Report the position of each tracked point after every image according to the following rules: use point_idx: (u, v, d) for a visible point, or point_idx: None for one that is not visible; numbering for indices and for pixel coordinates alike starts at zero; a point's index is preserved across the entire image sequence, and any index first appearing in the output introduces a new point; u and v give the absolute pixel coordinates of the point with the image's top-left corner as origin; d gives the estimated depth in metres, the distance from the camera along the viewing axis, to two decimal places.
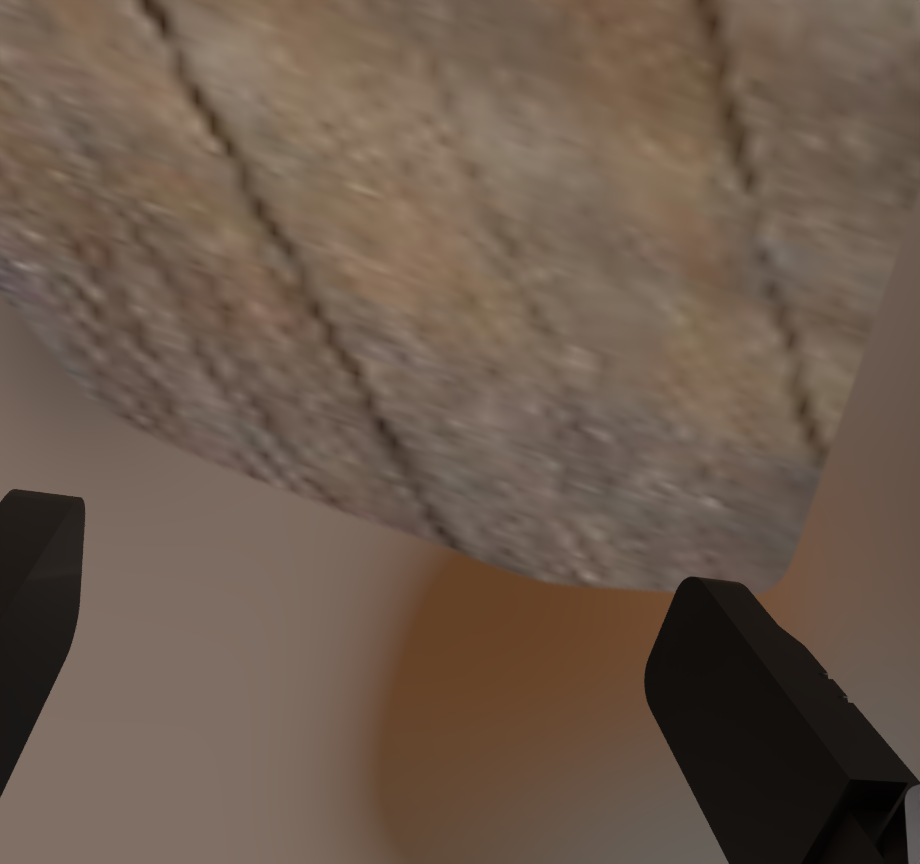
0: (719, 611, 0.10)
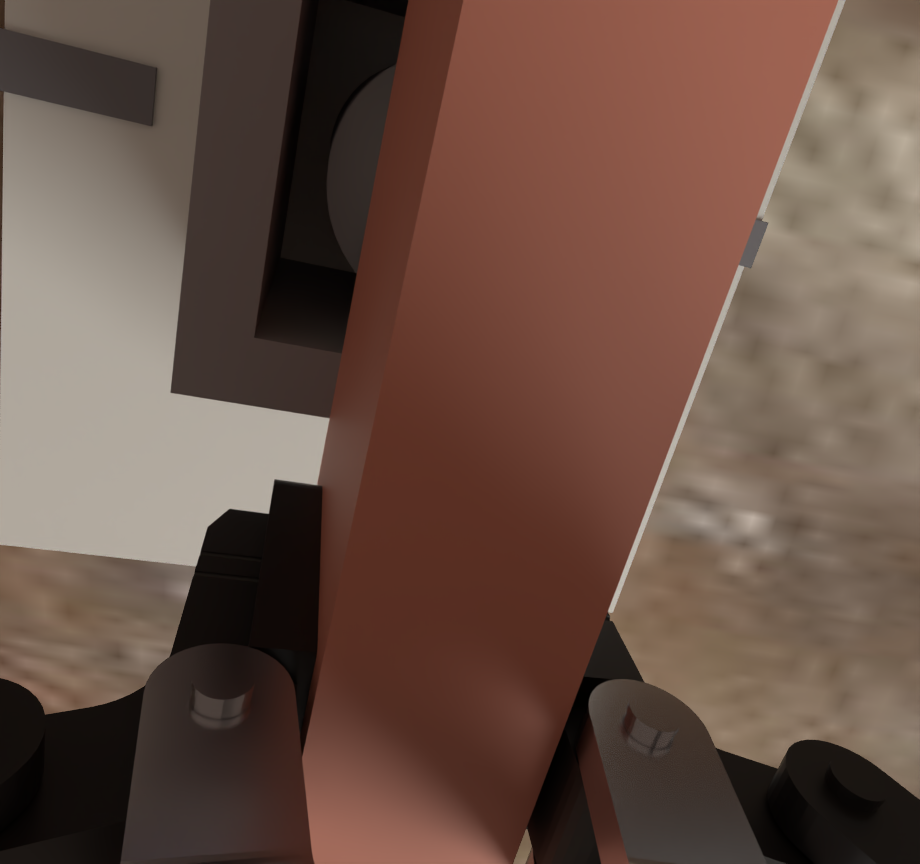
0: None
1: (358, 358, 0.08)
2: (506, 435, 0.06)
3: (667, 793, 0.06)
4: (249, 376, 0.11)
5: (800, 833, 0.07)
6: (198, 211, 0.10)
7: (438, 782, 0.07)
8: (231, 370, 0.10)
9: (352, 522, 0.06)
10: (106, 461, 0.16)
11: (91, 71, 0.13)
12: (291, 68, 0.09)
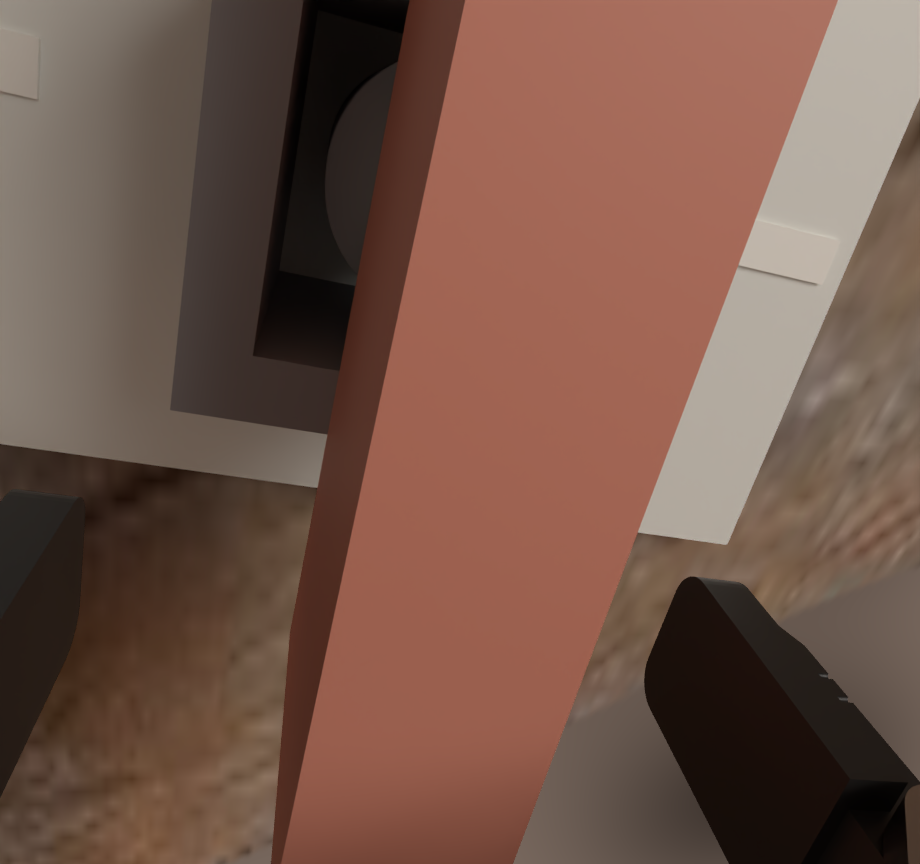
0: (719, 611, 0.10)
1: (354, 381, 0.08)
2: (499, 464, 0.06)
3: None
4: (247, 393, 0.11)
5: None
6: (197, 232, 0.10)
7: (433, 800, 0.07)
8: (230, 387, 0.11)
9: (348, 549, 0.06)
10: (671, 460, 0.19)
11: None
12: (289, 92, 0.09)
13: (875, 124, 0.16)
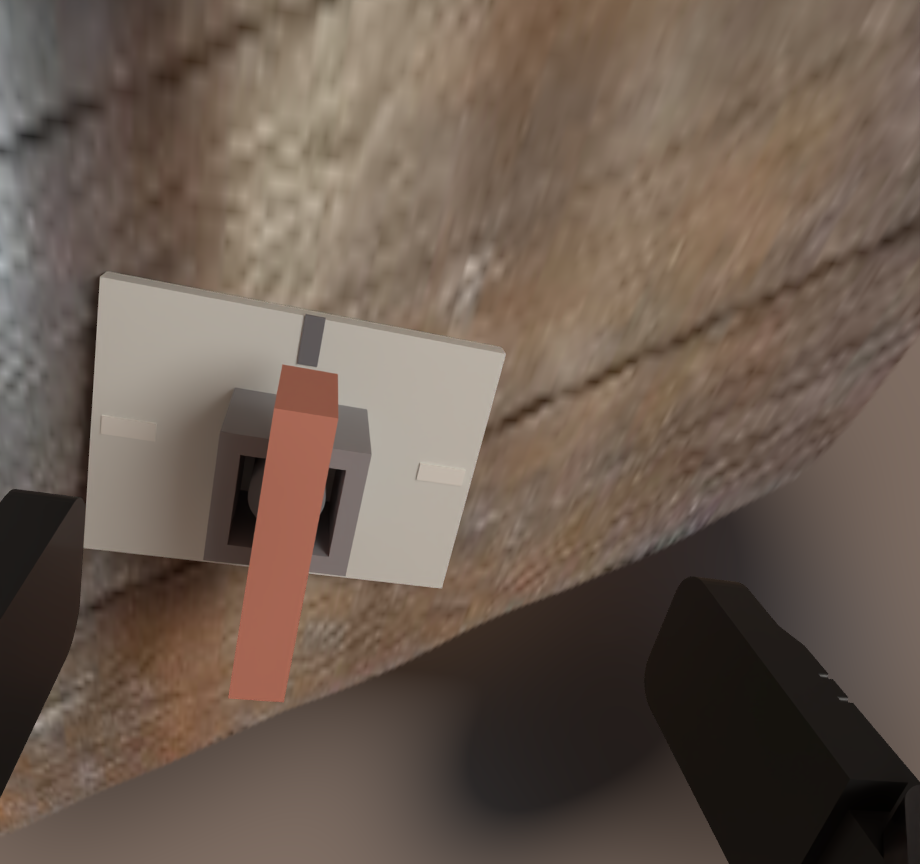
0: (719, 611, 0.10)
1: None
2: (270, 592, 0.31)
3: None
4: (226, 554, 0.36)
5: None
6: (211, 515, 0.35)
7: (265, 662, 0.33)
8: (220, 553, 0.36)
9: (242, 608, 0.32)
10: (409, 553, 0.44)
11: None
12: (236, 481, 0.35)
13: (471, 430, 0.41)
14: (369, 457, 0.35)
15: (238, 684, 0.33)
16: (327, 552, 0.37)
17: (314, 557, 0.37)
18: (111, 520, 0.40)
